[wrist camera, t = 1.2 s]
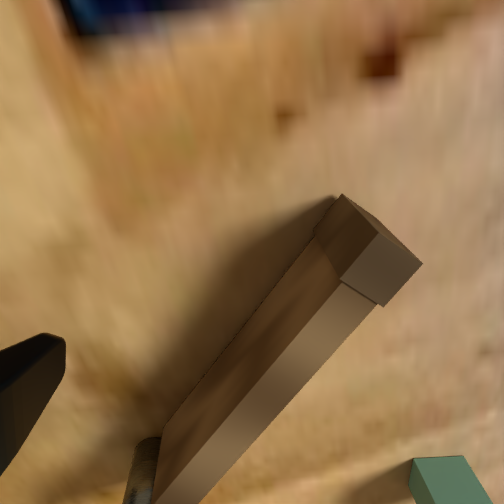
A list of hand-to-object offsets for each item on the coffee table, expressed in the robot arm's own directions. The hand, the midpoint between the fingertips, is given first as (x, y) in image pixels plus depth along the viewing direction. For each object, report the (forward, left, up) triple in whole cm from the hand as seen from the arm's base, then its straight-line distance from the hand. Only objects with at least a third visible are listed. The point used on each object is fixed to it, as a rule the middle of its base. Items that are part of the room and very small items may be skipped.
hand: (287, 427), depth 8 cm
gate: (-1, -7, -11) cm, 13 cm away
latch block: (+11, -16, -12) cm, 23 cm away
